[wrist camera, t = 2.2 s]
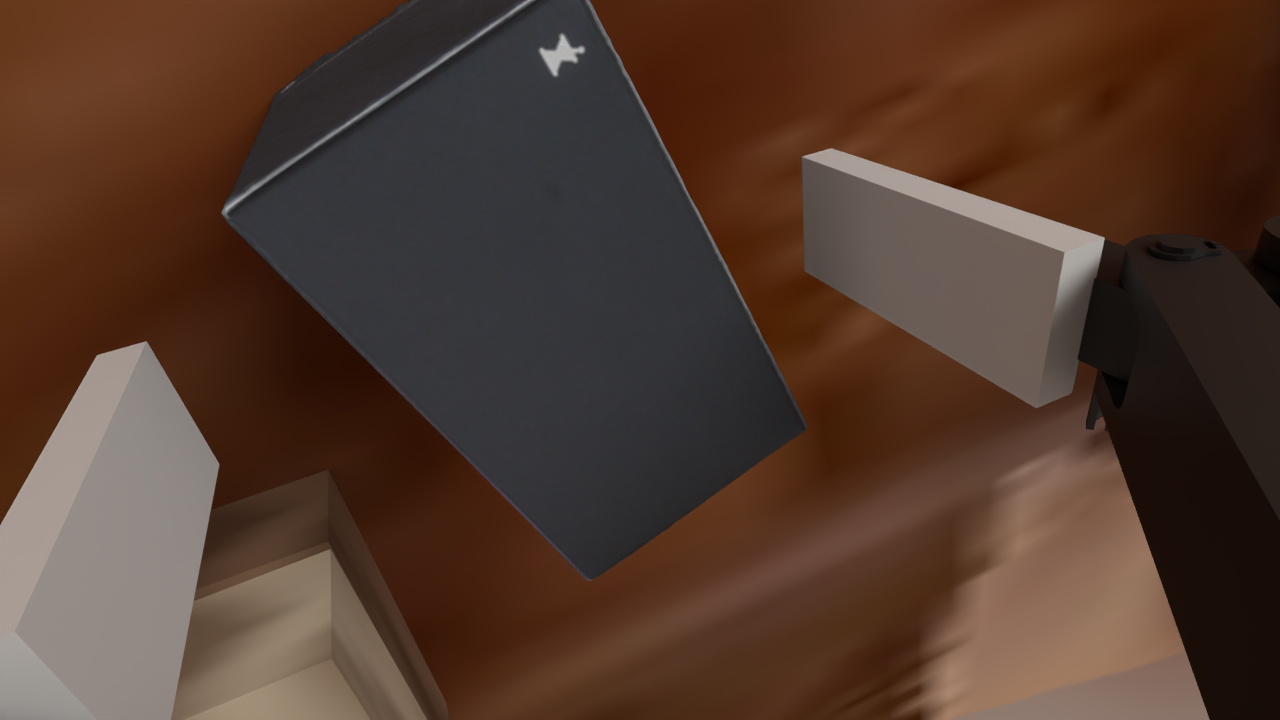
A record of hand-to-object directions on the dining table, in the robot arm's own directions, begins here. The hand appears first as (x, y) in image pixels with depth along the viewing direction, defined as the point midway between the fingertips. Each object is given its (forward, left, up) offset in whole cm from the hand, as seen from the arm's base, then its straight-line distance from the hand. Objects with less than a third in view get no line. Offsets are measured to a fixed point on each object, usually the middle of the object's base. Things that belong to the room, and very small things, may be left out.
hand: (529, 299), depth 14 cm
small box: (0, 0, -8) cm, 8 cm away
